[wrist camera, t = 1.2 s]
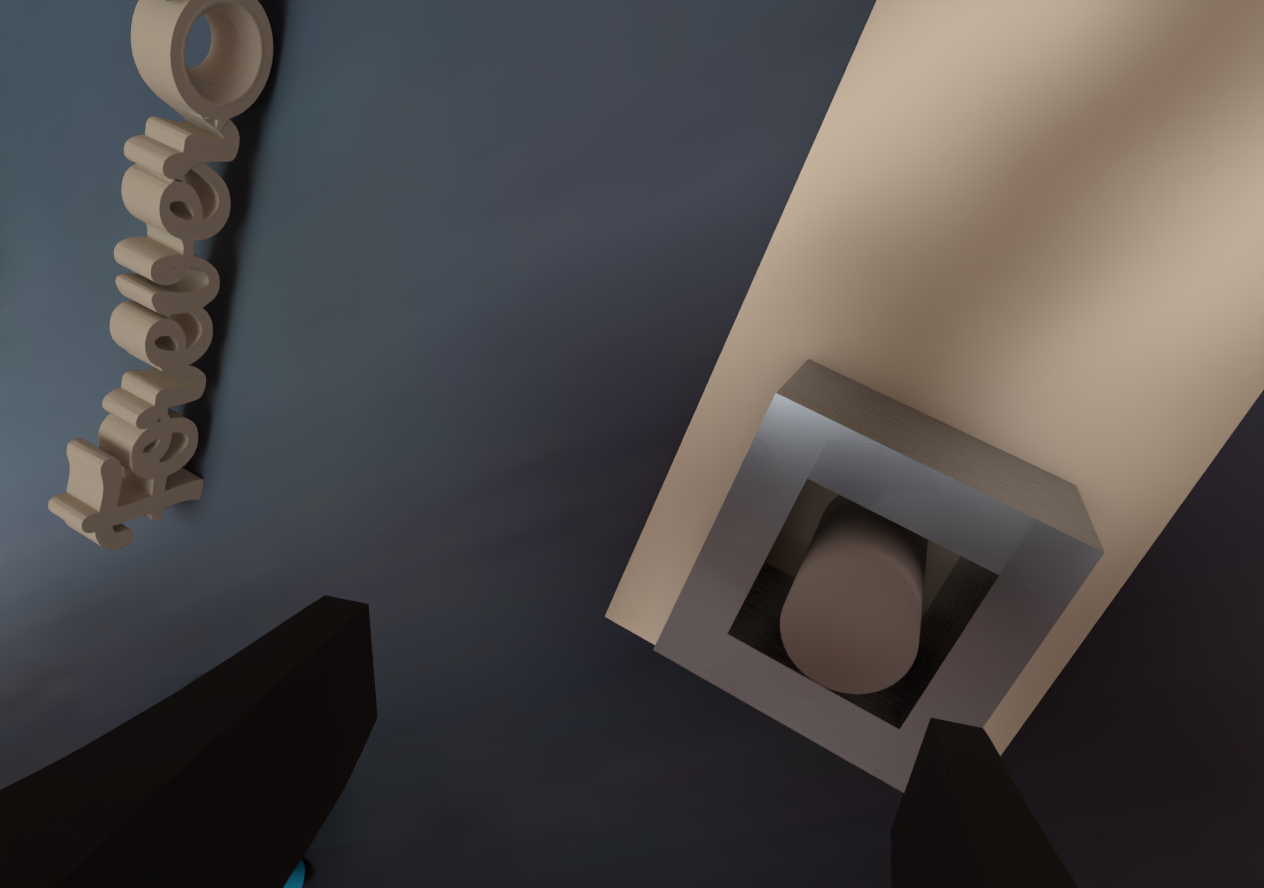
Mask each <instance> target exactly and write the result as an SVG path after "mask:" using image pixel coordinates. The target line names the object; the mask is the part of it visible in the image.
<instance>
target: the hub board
mask: <svg viewBox="0 0 1264 888" xmlns="http://www.w3.org/2000/svg"><path fill="white" fill-rule="evenodd" d="M808 359H810V360H812V361H814V362H816V363H818V364H821V365H823V366H825V367H827V368H829V369H831V370H833V371H835V372H838V373H840V374H842V375H844V376H846V377H848V378H850V379H852V380H854V381H857V382H859V383H861V384H863V385H865V386H867V387H869V388H871V389H873V390H876V391H878V392H880V393H882V394H884V395H886V396H888V397H890V398H893V399H895V400H897V401H899V402H901V403H903V404H905V405H907V406H909V407H912V408H914V409H916V410H918V411H920V412H922V413H924V414H926V415H929V416H931V417H933V418H935V419H937V420H939V421H941V422H943V423H945V424H948V425H950V426H952V427H954V428H956V429H958V430H960V431H962V432H964V433H967V434H969V435H971V436H973V437H975V438H977V439H979V440H981V441H984V442H986V443H988V444H990V445H992V446H994V447H996V448H998V449H1000V450H1003V451H1005V452H1007V453H1009V454H1011V455H1013V456H1015V457H1017V458H1020V459H1022V460H1024V461H1026V462H1028V463H1030V464H1032V465H1034V466H1036V467H1039V468H1041V469H1043V470H1045V471H1047V472H1049V473H1051V474H1053V475H1055V476H1058V477H1060V478H1062V479H1064V480H1066V481H1068V482H1070V483H1072V484H1075V485H1076V486H1077V489H1078V491H1079V493H1080V496H1081V498H1082V500H1083V503H1084V505H1085V507H1086V510H1087V512H1088V514H1089V517H1090V519H1091V522H1092V524H1093V526H1094V529H1095V531H1096V533H1097V536H1098V538H1099V540H1100V543H1101V545H1102V547H1103V550H1104V552H1105V553H1104V554H1103V556H1102V557H1101V559H1100V560H1099V562H1098V563H1097V564H1096V566H1095V567H1094V569H1093V570H1092V572H1091V573H1090V574H1089V576H1088V577H1087V579H1086V580H1085V582H1084V583H1083V585H1082V586H1081V587H1080V589H1079V590H1078V592H1077V593H1076V595H1075V596H1074V597H1073V599H1072V600H1071V602H1070V603H1069V605H1068V606H1067V608H1066V609H1065V610H1064V612H1063V613H1062V615H1061V616H1060V618H1059V619H1058V620H1057V622H1056V623H1055V625H1054V626H1053V628H1052V629H1051V631H1050V632H1049V633H1048V635H1047V636H1046V638H1045V639H1044V641H1043V642H1042V643H1041V645H1040V646H1039V648H1038V649H1037V651H1036V652H1035V654H1034V655H1033V656H1032V658H1031V659H1030V661H1029V662H1028V664H1027V665H1026V666H1025V668H1024V669H1023V671H1022V672H1021V674H1020V675H1019V677H1018V678H1017V679H1016V681H1015V682H1014V684H1013V685H1012V687H1011V688H1010V689H1009V691H1008V692H1007V694H1006V695H1005V697H1004V698H1003V700H1002V701H1001V702H1000V704H999V705H998V707H997V708H996V710H995V711H994V712H993V714H992V715H991V717H990V718H989V720H988V721H987V723H986V724H985V725H984V727H983V729H984V730H985V731H986V733H987V734H988V736H989V737H990V739H991V741H992V742H993V744H994V746H995V748H996V749H997V751H998V753H999V755H1000V756H1001V755H1002V753H1003V752H1004V750H1005V749H1006V748H1007V746H1008V745H1009V743H1010V742H1011V741H1012V739H1013V738H1014V736H1015V735H1016V734H1017V732H1018V731H1019V729H1020V728H1021V727H1022V725H1023V724H1024V722H1025V721H1026V720H1027V718H1028V717H1029V716H1030V714H1031V713H1032V711H1033V710H1034V709H1035V707H1036V706H1037V704H1038V703H1039V702H1040V700H1041V699H1042V697H1043V696H1044V695H1045V693H1046V692H1047V690H1048V689H1049V688H1050V686H1051V685H1052V683H1053V682H1054V681H1055V679H1056V678H1057V677H1058V675H1059V674H1060V672H1061V671H1062V670H1063V668H1064V667H1065V665H1066V664H1067V663H1068V661H1069V660H1070V658H1071V657H1072V656H1073V654H1074V653H1075V651H1076V650H1077V649H1078V647H1079V646H1080V644H1081V643H1082V642H1083V640H1084V639H1085V638H1086V636H1087V635H1088V633H1089V632H1090V631H1091V629H1092V628H1093V626H1094V625H1095V624H1096V622H1097V621H1098V619H1099V618H1100V617H1101V615H1102V614H1103V612H1104V611H1105V610H1106V608H1107V607H1108V605H1109V604H1110V603H1111V601H1112V600H1113V599H1114V597H1115V596H1116V594H1117V593H1118V592H1119V590H1120V589H1121V587H1122V586H1123V585H1124V583H1125V582H1126V580H1127V579H1128V578H1129V576H1130V575H1131V573H1132V572H1133V571H1134V569H1135V568H1136V566H1137V565H1138V564H1139V562H1140V561H1141V560H1142V558H1143V557H1144V555H1145V554H1146V553H1147V551H1148V550H1149V548H1150V547H1151V546H1152V544H1153V543H1154V541H1155V540H1156V539H1157V537H1158V536H1159V534H1160V533H1161V532H1162V530H1163V529H1164V527H1165V526H1166V525H1167V523H1168V522H1169V521H1170V519H1171V518H1172V516H1173V515H1174V514H1175V512H1176V511H1177V509H1178V508H1179V507H1180V505H1181V504H1182V502H1183V501H1184V500H1185V498H1186V497H1187V495H1188V494H1189V493H1190V491H1191V490H1192V488H1193V487H1194V486H1195V484H1196V483H1197V482H1198V480H1199V479H1200V477H1201V476H1202V475H1203V473H1204V472H1205V470H1206V469H1207V468H1208V466H1209V465H1210V463H1211V462H1212V461H1213V459H1214V458H1215V456H1216V455H1217V454H1218V452H1219V451H1220V449H1221V448H1222V447H1223V445H1224V444H1225V443H1226V441H1227V440H1228V438H1229V437H1230V436H1231V434H1232V433H1233V431H1234V430H1235V429H1236V427H1237V426H1238V424H1239V423H1240V422H1241V420H1242V419H1243V417H1244V416H1245V415H1246V413H1247V412H1248V410H1249V409H1250V408H1251V406H1252V405H1253V404H1254V402H1255V401H1256V399H1257V398H1258V397H1259V395H1260V394H1261V392H1262V391H1263V390H1264V0H877V1H876V3H875V5H874V8H873V10H872V12H871V14H870V17H869V19H868V21H867V23H866V26H865V28H864V30H863V33H862V35H861V37H860V39H859V42H858V44H857V46H856V48H855V51H854V53H853V55H852V57H851V60H850V62H849V64H848V67H847V69H846V71H845V73H844V76H843V78H842V80H841V82H840V85H839V87H838V89H837V91H836V94H835V96H834V98H833V101H832V103H831V105H830V107H829V110H828V112H827V114H826V116H825V119H824V121H823V123H822V125H821V128H820V130H819V132H818V135H817V137H816V139H815V141H814V144H813V146H812V148H811V150H810V153H809V155H808V157H807V159H806V162H805V164H804V166H803V168H802V171H801V173H800V175H799V178H798V180H797V182H796V184H795V187H794V189H793V191H792V193H791V196H790V198H789V200H788V202H787V205H786V207H785V209H784V212H783V214H782V216H781V218H780V221H779V223H778V225H777V227H776V230H775V232H774V234H773V236H772V239H771V241H770V243H769V246H768V248H767V250H766V252H765V255H764V257H763V259H762V261H761V264H760V266H759V268H758V270H757V273H756V275H755V277H754V280H753V282H752V284H751V286H750V289H749V291H748V293H747V295H746V298H745V300H744V302H743V304H742V307H741V309H740V311H739V314H738V316H737V318H736V320H735V323H734V325H733V327H732V329H731V332H730V334H729V336H728V338H727V341H726V343H725V345H724V348H723V350H722V352H721V354H720V357H719V359H718V361H717V363H716V366H715V368H714V370H713V372H712V375H711V377H710V379H709V381H708V384H707V386H706V388H705V391H704V393H703V395H702V397H701V400H700V402H699V404H698V406H697V409H696V411H695V413H694V415H693V418H692V420H691V422H690V425H689V427H688V429H687V431H686V434H685V436H684V438H683V440H682V443H681V445H680V447H679V449H678V452H677V454H676V456H675V459H674V461H673V463H672V465H671V468H670V470H669V472H668V474H667V477H666V479H665V481H664V483H663V486H662V488H661V490H660V493H659V495H658V497H657V499H656V502H655V504H654V506H653V508H652V511H651V513H650V515H649V517H648V520H647V522H646V524H645V527H644V529H643V531H642V533H641V536H640V538H639V540H638V542H637V545H636V547H635V549H634V551H633V554H632V556H631V558H630V560H629V563H628V565H627V567H626V570H625V572H624V574H623V576H622V579H621V581H620V583H619V585H618V588H617V590H616V592H615V594H614V597H613V599H612V601H611V604H610V606H609V608H608V610H607V613H606V615H605V617H607V618H608V619H610V620H612V621H614V622H615V623H617V624H619V625H621V626H622V627H624V628H626V629H628V630H629V631H631V632H633V633H635V634H636V635H638V636H640V637H642V638H643V639H645V640H647V641H649V642H650V643H652V644H654V645H656V643H657V641H658V639H659V637H660V634H661V632H662V630H663V628H664V626H665V624H666V622H667V620H668V618H669V616H670V614H671V611H672V609H673V607H674V605H675V603H676V601H677V599H678V597H679V595H680V593H681V590H682V588H683V586H684V584H685V582H686V580H687V578H688V576H689V574H690V572H691V570H692V567H693V565H694V563H695V561H696V559H697V557H698V555H699V553H700V551H701V549H702V546H703V544H704V542H705V540H706V538H707V536H708V534H709V532H710V530H711V528H712V526H713V523H714V521H715V519H716V517H717V515H718V513H719V511H720V509H721V507H722V505H723V502H724V500H725V498H726V496H727V494H728V492H729V490H730V488H731V486H732V484H733V482H734V479H735V477H736V475H737V473H738V471H739V469H740V467H741V465H742V463H743V461H744V458H745V456H746V454H747V452H748V450H749V448H750V446H751V444H752V442H753V440H754V438H755V435H756V433H757V431H758V429H759V427H760V425H761V423H762V421H763V419H764V417H765V414H766V412H767V410H768V408H769V406H770V404H771V402H772V400H773V398H774V396H775V394H776V392H777V391H778V390H779V389H780V388H781V387H782V386H783V385H784V384H785V383H786V382H787V381H788V380H789V379H790V378H791V377H792V375H793V374H794V373H795V372H796V371H797V370H798V369H799V368H800V367H801V366H802V365H803V364H804V363H805V362H806V361H807V360H808ZM959 558H960V555H958V554H956V553H954V552H952V551H950V550H948V549H946V548H944V547H942V546H940V545H938V544H936V543H934V542H932V541H930V540H928V539H926V538H924V537H922V536H920V535H918V534H916V533H914V532H912V531H910V530H909V529H907V528H905V527H903V526H901V525H899V524H897V523H895V522H893V521H891V520H889V519H887V518H885V517H883V516H881V515H879V514H877V513H875V512H873V511H871V510H869V509H867V508H865V507H863V506H861V505H859V504H857V503H855V502H853V501H851V500H849V499H847V498H845V497H843V496H841V495H839V494H837V493H835V492H833V491H831V490H829V489H827V488H825V487H823V486H821V485H819V484H817V483H815V482H813V481H811V480H809V479H808V481H807V483H806V485H805V487H804V489H803V491H802V492H801V494H800V496H799V498H798V500H797V502H796V504H795V506H794V508H793V510H792V512H791V514H790V516H789V518H788V520H787V522H786V524H785V525H784V527H783V529H782V531H781V533H780V535H779V537H778V539H777V541H776V543H775V545H774V547H773V549H772V551H771V553H770V555H769V556H768V558H767V560H766V563H768V564H770V565H772V566H774V567H776V568H778V569H779V570H781V571H783V572H785V573H787V574H789V575H791V576H793V577H794V578H795V580H794V582H793V585H792V587H791V589H790V592H789V594H788V596H787V599H786V601H785V603H784V606H783V609H782V612H781V618H780V632H781V638H782V641H783V644H784V647H785V649H786V651H787V653H788V655H789V657H790V658H791V660H792V661H793V663H794V664H795V665H796V666H797V667H798V668H799V669H800V670H801V671H802V672H803V673H804V674H805V675H806V676H807V677H809V678H810V679H811V680H813V681H814V682H816V683H818V684H820V685H822V686H824V687H826V688H828V689H831V690H834V691H838V692H842V693H849V694H866V693H872V692H876V691H880V690H882V689H885V688H887V687H889V686H891V685H893V684H895V683H896V682H897V681H899V680H900V679H901V678H902V677H903V676H904V675H905V674H906V673H907V672H908V670H909V669H910V668H911V666H912V664H913V662H914V660H915V658H916V655H917V652H918V646H919V637H920V626H921V619H922V617H923V616H924V614H925V613H926V611H927V609H928V608H929V606H930V605H931V603H932V601H933V600H934V598H935V596H936V595H937V593H938V592H939V590H940V588H941V587H942V585H943V584H944V582H945V580H946V579H947V577H948V575H949V574H950V572H951V571H952V569H953V567H954V566H955V564H956V563H957V561H958V559H959Z"/></svg>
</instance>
